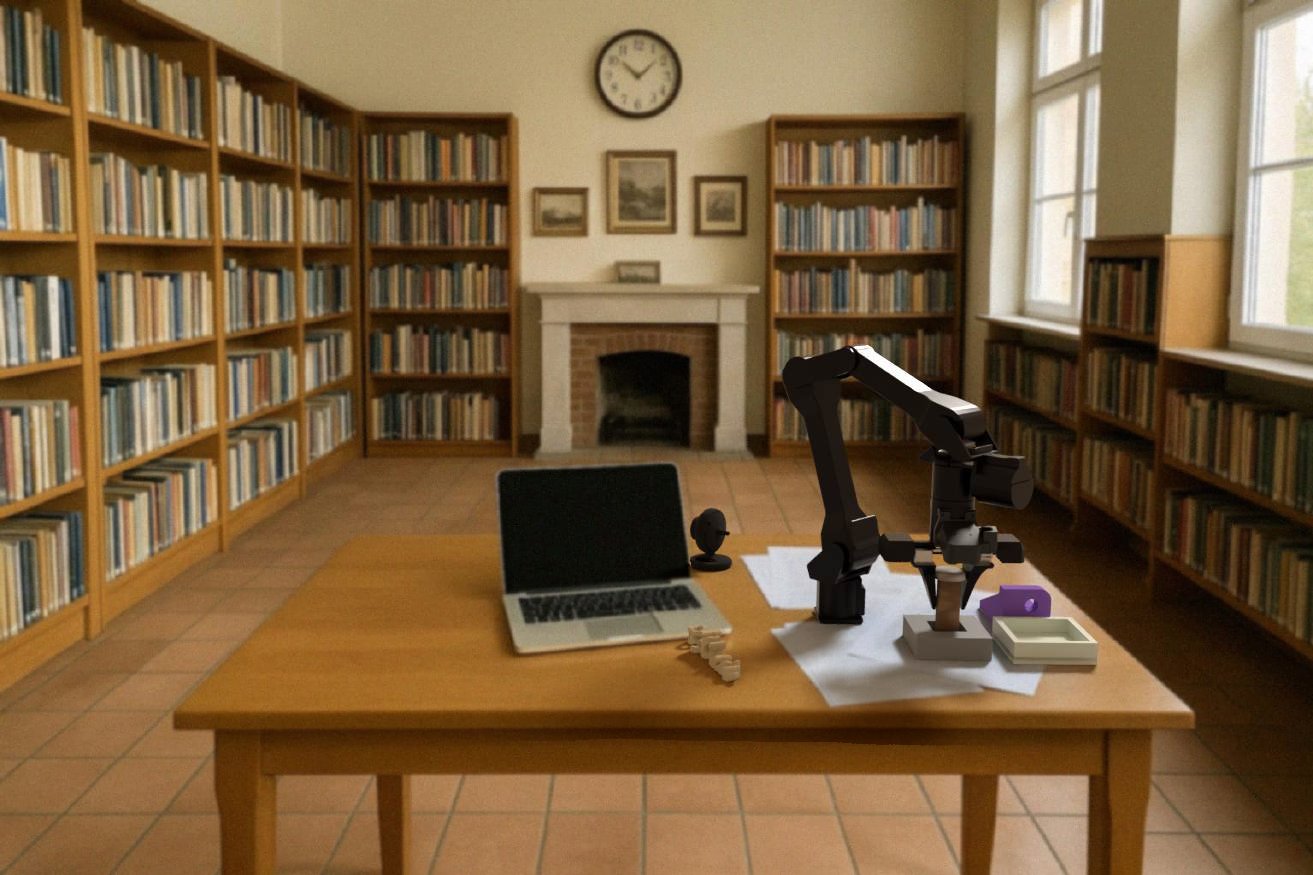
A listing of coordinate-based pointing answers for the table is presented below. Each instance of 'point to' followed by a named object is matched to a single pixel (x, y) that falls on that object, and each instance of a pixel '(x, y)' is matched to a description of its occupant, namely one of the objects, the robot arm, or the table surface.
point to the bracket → (1017, 602)
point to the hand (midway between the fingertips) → (947, 608)
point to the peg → (948, 598)
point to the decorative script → (713, 651)
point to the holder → (947, 639)
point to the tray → (1044, 640)
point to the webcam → (709, 540)
